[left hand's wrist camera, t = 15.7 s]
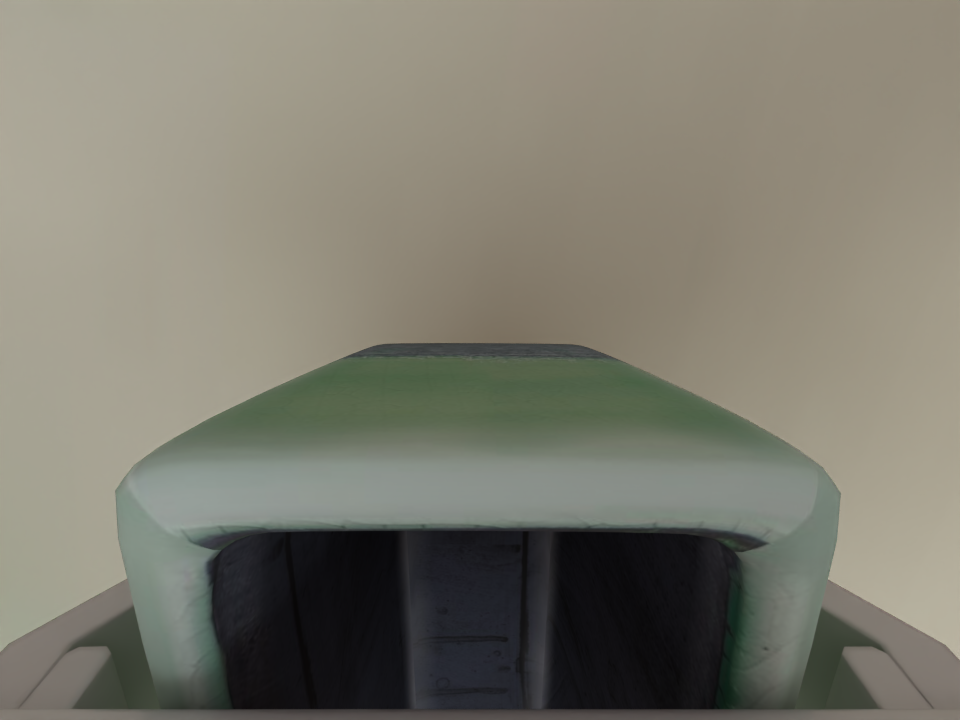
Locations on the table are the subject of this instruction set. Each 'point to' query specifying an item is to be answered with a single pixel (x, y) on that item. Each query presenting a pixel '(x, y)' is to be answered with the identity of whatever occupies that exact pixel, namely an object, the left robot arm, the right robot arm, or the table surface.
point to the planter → (477, 541)
